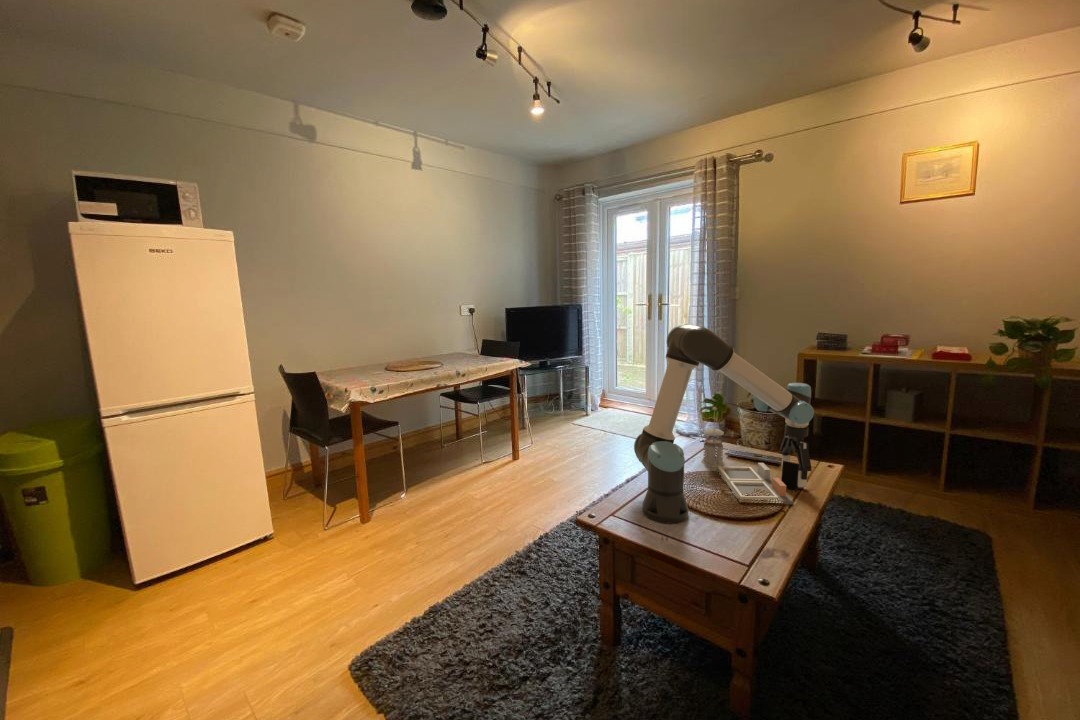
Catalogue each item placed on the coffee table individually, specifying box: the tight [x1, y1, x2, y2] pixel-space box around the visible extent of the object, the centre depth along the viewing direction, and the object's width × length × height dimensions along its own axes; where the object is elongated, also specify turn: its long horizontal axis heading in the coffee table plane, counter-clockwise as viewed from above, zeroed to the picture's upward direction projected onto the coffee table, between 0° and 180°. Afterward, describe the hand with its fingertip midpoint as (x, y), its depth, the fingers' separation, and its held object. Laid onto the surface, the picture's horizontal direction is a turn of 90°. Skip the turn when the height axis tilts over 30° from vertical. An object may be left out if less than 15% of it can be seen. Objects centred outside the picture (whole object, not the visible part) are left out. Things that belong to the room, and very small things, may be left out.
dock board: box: [715, 462, 794, 505], centre depth 166 cm, size 18×28×5 cm, turn 174°
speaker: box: [780, 461, 805, 492], centre depth 163 cm, size 8×6×10 cm
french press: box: [700, 406, 726, 468], centre depth 187 cm, size 10×12×25 cm
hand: (793, 478), depth 164 cm, fingers open, 13 cm apart
